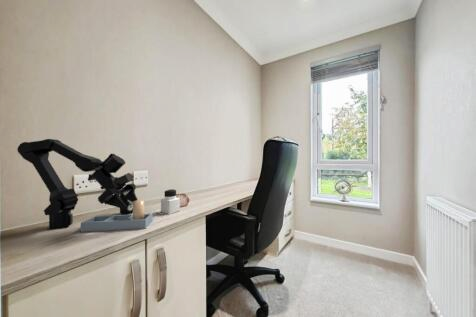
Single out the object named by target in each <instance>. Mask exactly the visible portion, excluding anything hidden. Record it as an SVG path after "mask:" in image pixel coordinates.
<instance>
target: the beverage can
mask: <svg viewBox="0 0 476 317" xmlns="http://www.w3.org/2000/svg"><path fill="white" fill-rule="evenodd" d="M120 198H121V199H122V201H123V202H124V203H125V204H126V206H127V207H128V208H127V209H126V210H125V209H122V208H119V214H120V215H133V202H131V201H129V200H127V199H126V198H124V196H122V195H121V194H120Z"/></svg>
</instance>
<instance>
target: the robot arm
mask: <svg viewBox="0 0 476 317" xmlns="http://www.w3.org/2000/svg"><path fill="white" fill-rule="evenodd" d="M16 151H17V152H18V154H19V156H20V157H22V158H23V159H24V160H25V161H27V162H29V163H30V164H32V166H33V168H34V169H35V170H36V172H37V174H38V175H39V176H40V179H41V180H42V181H43V183H44V185H45V187H46V188H47V190H48V191H49V198H48V201H49V204H48V205H47V207H45V208H44V210H43V213H44V215H45V216H48V218H49V219H48V228H47V229H46V230H47V231H50V230H51V231H52V230H59V229H66V228H69V227H70V226H71V225H72V224H73V222H74V221H73V219H74V218H73V216H74V214H73V213H72V211H74V210H75V208H76V205H77V204H78V202H79V198H78V197H79V195H78V194H77V193H76V190H75V189H74V187H73V188H67V187H66V186H65V185H64V183H63V182H62V180H61V179H60V177H59V175H58V174H57V171H56V170H55V169H54V166H53V165H52V164H51V162H50V160H49V156H50V152H55V153H57V154H58V155H60V156H62V157H64V158H65V159H68V160H69V161H71V162H72V163H73V164H74V165H75V167H77V168H78V169H79V170H80V171H82V172H85V173H87V172H88V173H89V172H90V173H89V174H88V177H87V181H88V182H89V181H96V182H97V183H98V184H99V185H100V189H101V190H104V191H103V192H102V193H101V194H100V195H99V196H98V197H97V201H98V202H99V203H100V204H101V205H103V204H104V205H109V206H112V207H116V208H119V209H120V208H122V209H125V210H126V209H127V208H128V207H127V206H126V204H125V203H124V202H123V201H122V199H121V198H120V194H121V195H122V196H124V198H126V199H127V200H129V201H131V202H133V201H136V200H139V199H138V197H137V195H136V193H135V192H136V189H137V188H136V187H137V185H136V184H135V183H129V182H133V181H134V175H133V174H132V173H131V172H128V173H125V174H124V175H122V176H119V177H118V176H116V177H115V176H114V175H113V174H116V173H117V172H118V171H119V170H120V169H121V168H122V167H123V166H124V165H125V164H126V161H125V159H123V158H121V157H120V156H119V155H116V154H115V153H110V154H109V155H108V157H107V158H105V159H104V160H103V161H102V160H101V159H100V158H98V157H95V156H90V155H86V154H84V153H82V152H80V151H78V150H76V149H75V148H72V147H71V146H69V145H67V144H66V143H63V142H62V141H60V140H59V139H52V138H46V139H42V140H36V141H25V142H20V144H19V145H18V146H17V150H16ZM91 172H92V173H91Z"/></svg>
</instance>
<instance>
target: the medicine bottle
mask: <svg viewBox="0 0 476 317" xmlns="http://www.w3.org/2000/svg"><path fill="white" fill-rule="evenodd" d="M180 200H181V198H179V197H177V190H176V189H166V190H164V198H161V199H160V213H164V214H168V215H171V214H172V215H173V214H174V213H178V212H180V211H181V204H180V203H181V201H180Z"/></svg>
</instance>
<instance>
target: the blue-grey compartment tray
mask: <svg viewBox="0 0 476 317" xmlns="http://www.w3.org/2000/svg"><path fill="white" fill-rule="evenodd" d="M153 216H154V215H153V213H144V219H143V220H133V214H127V215H122V214H117V215H116V214H115V215H114V214H113V215H94V216H92V217H89V218H88V219H86V220H84V221H83V220H82V221H81V222H80V232H84V233H85V232H95V231H96V232H102V231H103V232H104V231H121V230H124V231H125V230H143V229H147V228H148V227H149V226H150V225H151V224H152V223H153V218H154V217H153Z"/></svg>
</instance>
